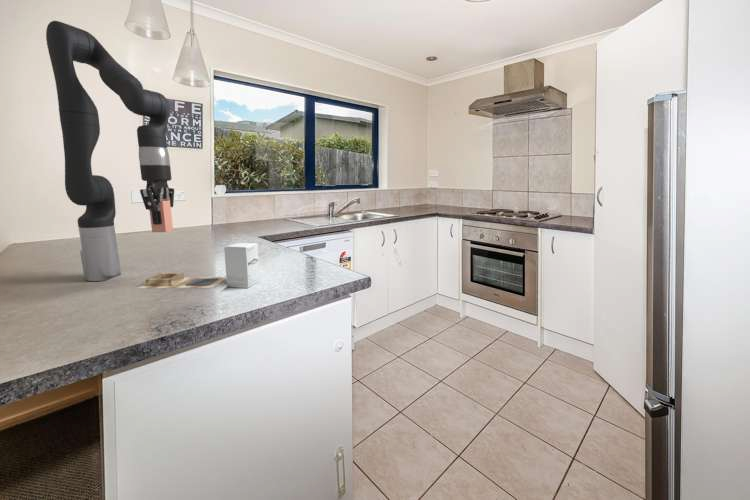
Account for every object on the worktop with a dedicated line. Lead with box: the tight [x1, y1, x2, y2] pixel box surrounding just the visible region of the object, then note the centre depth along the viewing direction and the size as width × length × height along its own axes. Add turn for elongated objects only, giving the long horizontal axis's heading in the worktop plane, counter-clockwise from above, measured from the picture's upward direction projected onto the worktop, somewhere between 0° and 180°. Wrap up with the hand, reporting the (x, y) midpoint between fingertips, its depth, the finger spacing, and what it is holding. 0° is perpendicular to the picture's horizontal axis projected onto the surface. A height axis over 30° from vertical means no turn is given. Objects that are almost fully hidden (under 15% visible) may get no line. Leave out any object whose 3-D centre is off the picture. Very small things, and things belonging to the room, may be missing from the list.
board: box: [137, 272, 227, 289], centre depth 111 cm, size 22×11×3 cm, turn 92°
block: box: [148, 201, 174, 233], centre depth 107 cm, size 4×4×9 cm
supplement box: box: [223, 242, 261, 289], centre depth 111 cm, size 7×7×13 cm
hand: (161, 223), depth 107 cm, fingers closed on block, 4 cm apart
